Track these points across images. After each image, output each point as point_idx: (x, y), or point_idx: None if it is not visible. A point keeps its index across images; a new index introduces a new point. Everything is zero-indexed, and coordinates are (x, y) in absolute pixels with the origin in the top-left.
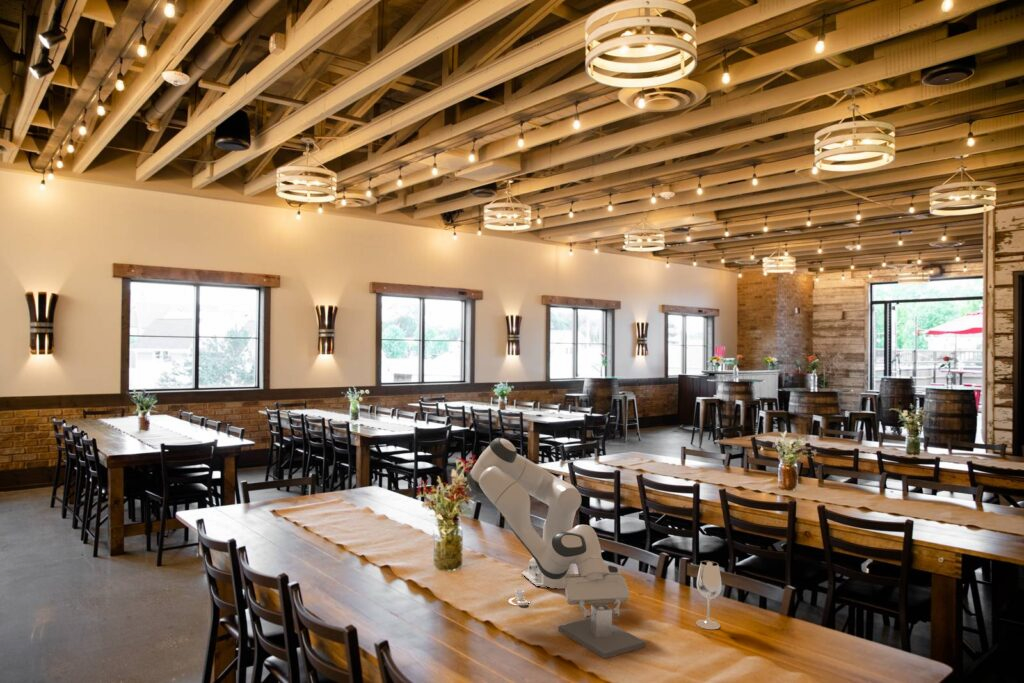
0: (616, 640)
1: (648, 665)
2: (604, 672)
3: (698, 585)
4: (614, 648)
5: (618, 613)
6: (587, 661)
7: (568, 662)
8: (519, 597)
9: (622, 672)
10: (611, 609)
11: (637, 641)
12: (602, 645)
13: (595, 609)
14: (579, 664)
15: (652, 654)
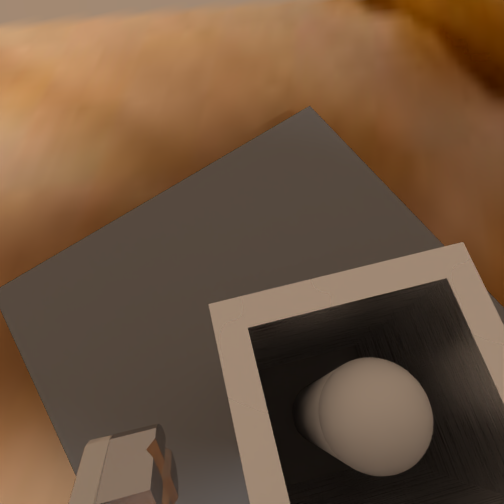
0: (207, 289)
1: (83, 86)
2: (314, 11)
3: None
4: (240, 169)
5: (104, 438)
6: (399, 91)
7: (498, 73)
8: None
9: (230, 19)
10: (215, 327)
11: (50, 290)
12: (317, 199)
13: (486, 301)
14: (438, 61)
15: (11, 202)
